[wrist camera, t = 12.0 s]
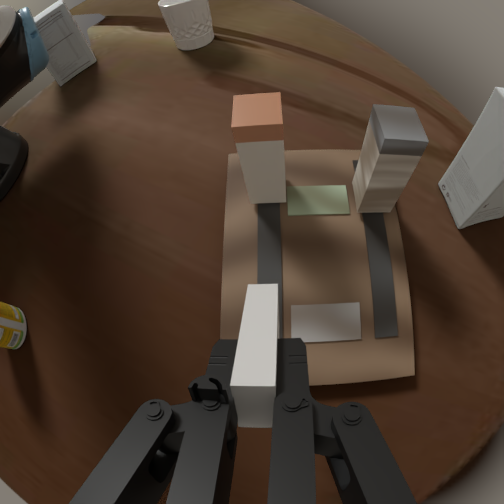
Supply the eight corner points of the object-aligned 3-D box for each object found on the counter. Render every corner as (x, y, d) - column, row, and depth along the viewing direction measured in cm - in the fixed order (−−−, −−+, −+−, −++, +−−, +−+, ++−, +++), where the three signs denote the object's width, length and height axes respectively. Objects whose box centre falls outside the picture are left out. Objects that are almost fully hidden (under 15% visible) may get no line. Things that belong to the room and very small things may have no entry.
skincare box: (457, 231, 26) (537, 144, 12) (434, 182, 28) (492, 82, 14) (504, 217, 26) (577, 143, 12) (482, 173, 28) (540, 91, 14)
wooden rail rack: (408, 374, 22) (486, 376, 11) (223, 383, 24) (170, 399, 13) (378, 159, 30) (406, 73, 19) (231, 162, 32) (205, 74, 20)
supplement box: (92, 49, 49) (63, -4, 34) (98, 61, 46) (65, 1, 30) (57, 73, 48) (24, 23, 33) (59, 87, 45) (21, 32, 29)
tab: (286, 202, 27) (282, 124, 18) (250, 203, 27) (231, 127, 18) (284, 173, 28) (280, 92, 19) (250, 174, 28) (233, 95, 19)
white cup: (226, 37, 42) (216, -10, 33) (188, 57, 41) (171, 8, 32) (201, 28, 45) (190, -14, 35) (166, 46, 43) (150, 3, 34)
